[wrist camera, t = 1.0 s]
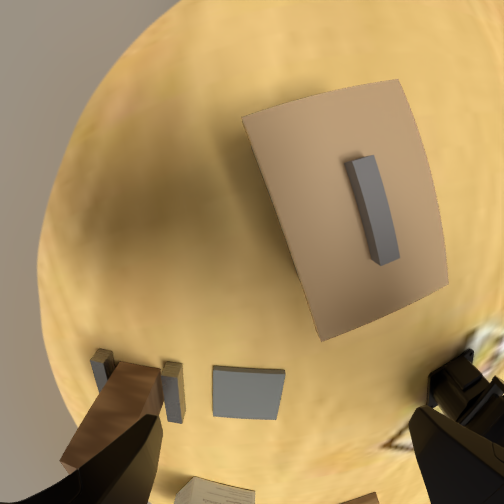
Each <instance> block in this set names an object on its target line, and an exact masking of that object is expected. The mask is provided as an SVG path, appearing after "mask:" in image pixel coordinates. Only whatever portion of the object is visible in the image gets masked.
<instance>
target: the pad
mask: <svg viewBox="0 0 504 504" xmlns="http://www.w3.org/2000/svg"><path fill="white" fill-rule="evenodd" d="M284 379H285V370H268V369H248V368H234V367H222V366H214V369H213V416H216V417H227V418H241V419H264V420H276V419H277V414H278V409H279V404H280V400H281V395H282V390H283V385H284Z"/></svg>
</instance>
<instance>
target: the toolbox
mask: <svg viewBox="0 0 504 504" xmlns="http://www.w3.org/2000/svg"><path fill="white" fill-rule="evenodd" d="M242 123H243V125H244V128H245V130H246V133H247V135H248V138H249V141H250V143H251V147H252V150H253V153H254V155H255V158H256V160H257V163H258V166H259V168H260V171H261V173H262V176H263V179H264V181H265V184H266V187H267V189H268V192H269V195H270V198H271V200H272V203H273V206H274V209H275V211H276V214H277V217H278V220H279V222H280V225H281V228H282V231H283V234H284V236H285V239H286V242H287V245H288V248H289V251H290V254H291V257H292V259H293V262H294V265H295V268H296V271H297V274H298V277H299V280H300V282H301V284H302V287H303V290H304V293H305V296H306V299H307V303H308V306H309V309H310V312H311V315H312V318H313V321H314V324H315V328H316V331H317V333H318V336H319V338H320V341H321V342H322V341H325V340H328V339H330V338H333V337H336V336H338V335H341V334H343V333H346V332H348V331H351V330H353V329H356V328H358V327H361V326H363V325H365V324H368V323H370V322H372V321H375V320H377V319H379V318H381V317H384V316H386V315H388V314H390V313H393V312H395V311H397V310H399V309H401V308H403V307H405V306H407V305H409V304H411V303H414V302H416V301H418V300H420V299H422V298H424V297H425V296H427V295H429V294H431V293H433V292H435V291H437V290H439V289H441V288H443V287H444V286H446V285H448V284H449V282H448V269H447V259H446V250H445V242H444V235H443V228H442V222H441V216H440V211H439V206H438V201H437V196H436V192H435V187H434V183H433V179H432V175H431V171H430V167H429V163H428V160H427V156H426V153H425V149H424V146H423V143H422V140H421V137H420V134H419V131H418V128H417V125H416V122H415V119H414V116H413V114H412V111H411V108H410V106H409V103H408V101H407V98H406V96H405V93H404V91H403V89H402V86H401V84H400V82H399V80H398V79H395V80H388V81H381V82H375V83H369V84H364V85H358V86H353V87H348V88H343V89H339V90H334V91H330V92H325V93H321V94H317V95H313V96H309V97H305V98H302V99H298V100H294V101H291V102H287V103H284V104H281V105H277V106H274V107H271V108H268V109H265V110H261V111H258V112H255V113H252V114H249V115H247V116H244V117H242Z"/></svg>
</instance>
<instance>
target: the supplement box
mask: <svg viewBox="0 0 504 504" xmlns="http://www.w3.org/2000/svg"><path fill="white" fill-rule="evenodd" d="M174 504H255V491H250V490H245V489H240V488H236V487H231V486H227V485H223V484H219V483H216V482H212V481H208V480H205V479H202V478H198V477H193V478H192V479H191V480H190V481H189V482H188V483H187V484H186V485H185V486H184V487H183V488H182V489H181V490H180V491H179V492H178V493H177V494H176V496H175V501H174Z"/></svg>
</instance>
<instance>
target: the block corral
mask: <svg viewBox="0 0 504 504" xmlns="http://www.w3.org/2000/svg"><path fill="white" fill-rule="evenodd" d="M341 504H379V501H378V498H377V495H376V492H373V493H371V494H368V495H365V496H363V497H360V498H357V499H354V500H351V501H348V502H344V503H341Z"/></svg>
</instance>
